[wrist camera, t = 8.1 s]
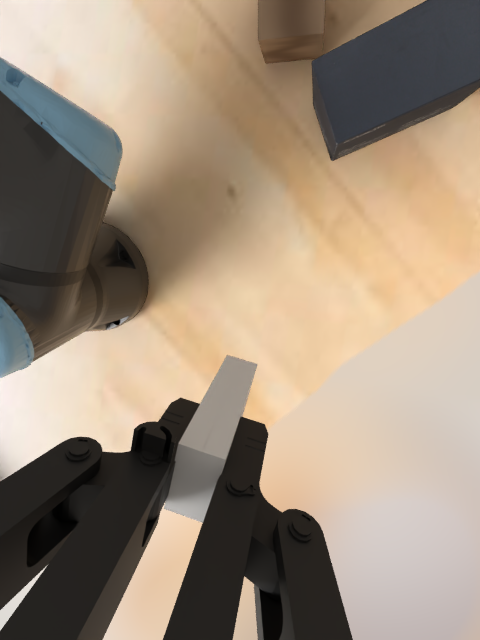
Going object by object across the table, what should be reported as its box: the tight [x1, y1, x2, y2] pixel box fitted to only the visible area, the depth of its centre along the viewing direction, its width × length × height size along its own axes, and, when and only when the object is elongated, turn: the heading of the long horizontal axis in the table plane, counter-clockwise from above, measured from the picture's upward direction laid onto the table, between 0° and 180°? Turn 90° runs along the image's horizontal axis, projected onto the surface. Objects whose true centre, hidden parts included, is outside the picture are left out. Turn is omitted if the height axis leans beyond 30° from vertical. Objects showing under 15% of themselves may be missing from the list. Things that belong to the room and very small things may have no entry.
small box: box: [312, 0, 480, 161], centre depth 32 cm, size 13×7×12 cm, turn 112°
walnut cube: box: [258, 0, 325, 63], centre depth 34 cm, size 6×6×6 cm
